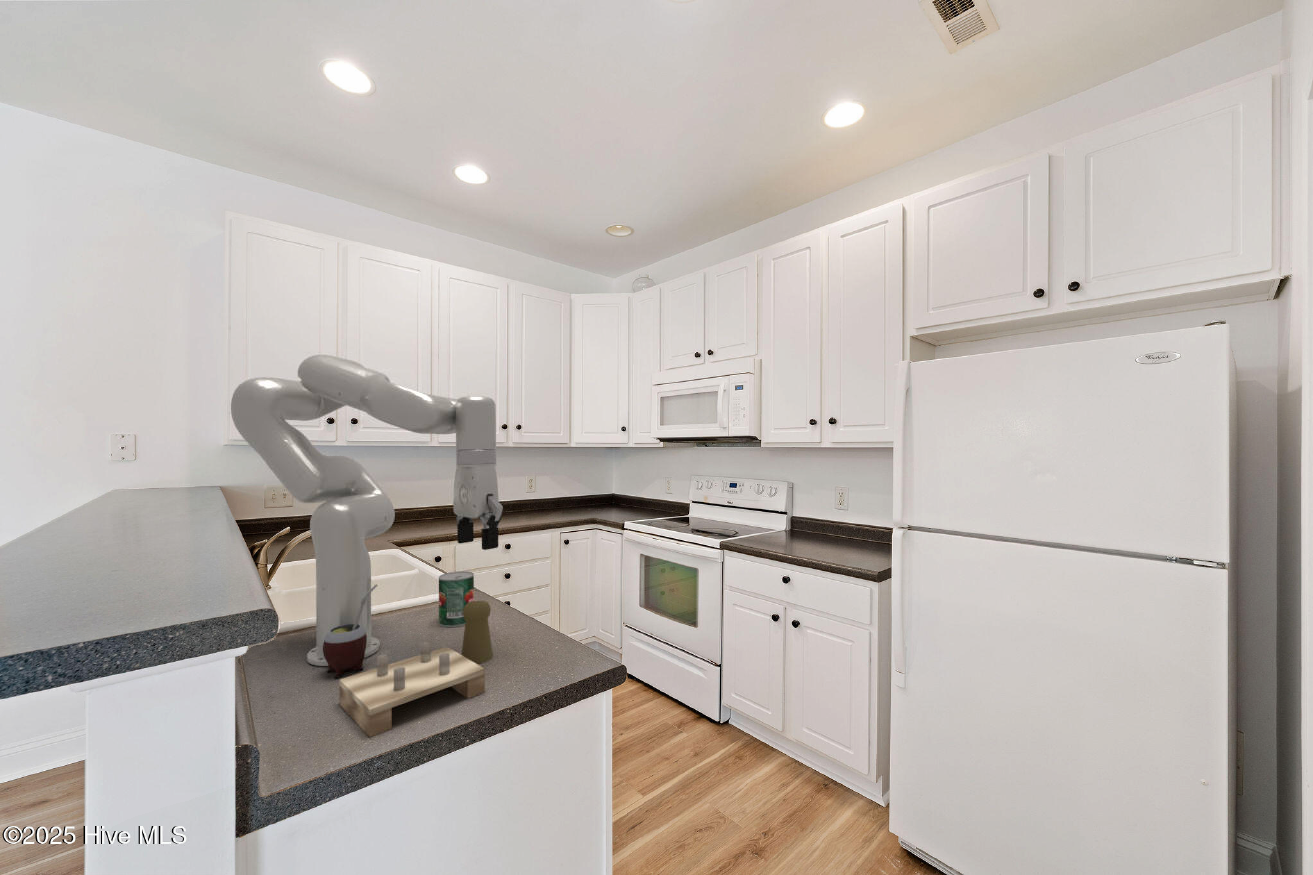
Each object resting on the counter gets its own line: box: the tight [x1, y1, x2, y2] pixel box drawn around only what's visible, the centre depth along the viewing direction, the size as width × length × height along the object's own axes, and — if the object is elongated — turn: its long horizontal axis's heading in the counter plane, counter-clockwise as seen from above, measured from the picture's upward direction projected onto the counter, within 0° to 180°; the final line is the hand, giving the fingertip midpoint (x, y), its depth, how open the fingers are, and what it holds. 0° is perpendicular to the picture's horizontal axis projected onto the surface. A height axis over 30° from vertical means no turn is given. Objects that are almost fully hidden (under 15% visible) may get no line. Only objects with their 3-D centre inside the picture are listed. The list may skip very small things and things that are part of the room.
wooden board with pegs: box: [338, 641, 486, 738], centre depth 86 cm, size 14×18×7 cm
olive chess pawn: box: [460, 600, 494, 665], centre depth 102 cm, size 6×6×11 cm
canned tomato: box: [438, 570, 475, 628], centre depth 122 cm, size 8×8×11 cm
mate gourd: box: [323, 584, 378, 680], centre depth 97 cm, size 8×8×15 cm
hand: (477, 545), depth 102 cm, fingers open, 9 cm apart
